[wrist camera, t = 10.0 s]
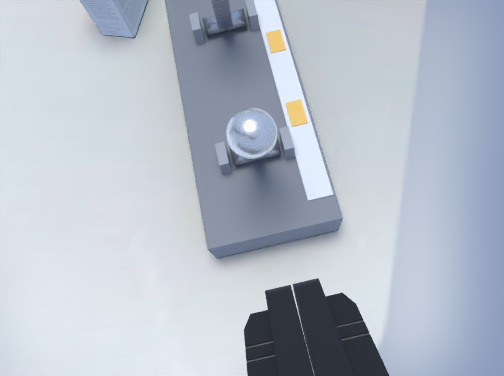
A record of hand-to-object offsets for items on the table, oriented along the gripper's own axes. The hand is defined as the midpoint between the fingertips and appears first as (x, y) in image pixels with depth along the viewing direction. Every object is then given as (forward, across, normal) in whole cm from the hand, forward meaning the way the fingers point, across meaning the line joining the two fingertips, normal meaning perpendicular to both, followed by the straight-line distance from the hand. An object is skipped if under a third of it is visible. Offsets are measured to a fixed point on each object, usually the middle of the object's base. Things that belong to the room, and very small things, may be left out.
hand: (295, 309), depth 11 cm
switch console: (+32, 0, +2) cm, 32 cm away
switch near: (+23, 0, +3) cm, 23 cm away
